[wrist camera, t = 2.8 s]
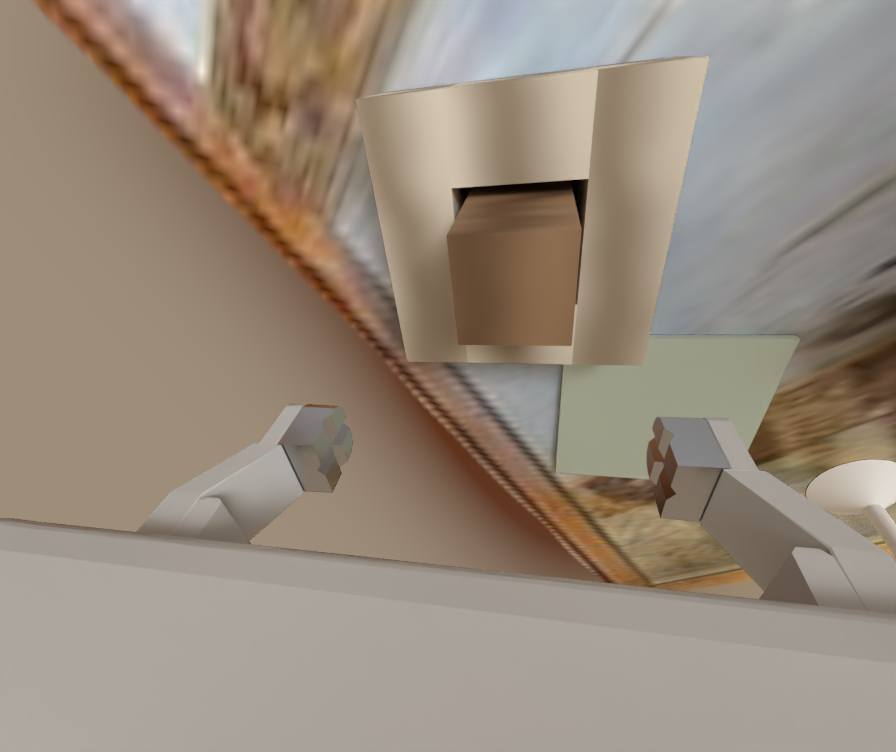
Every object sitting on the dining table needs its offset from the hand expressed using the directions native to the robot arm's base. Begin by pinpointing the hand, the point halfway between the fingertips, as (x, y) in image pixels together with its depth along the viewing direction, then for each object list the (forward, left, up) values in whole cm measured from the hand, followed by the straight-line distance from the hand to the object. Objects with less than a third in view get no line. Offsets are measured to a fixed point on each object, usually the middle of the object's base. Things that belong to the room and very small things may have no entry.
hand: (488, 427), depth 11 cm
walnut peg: (0, 0, -18) cm, 18 cm away
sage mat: (-10, +15, -18) cm, 25 cm away
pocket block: (0, 0, -18) cm, 18 cm away
